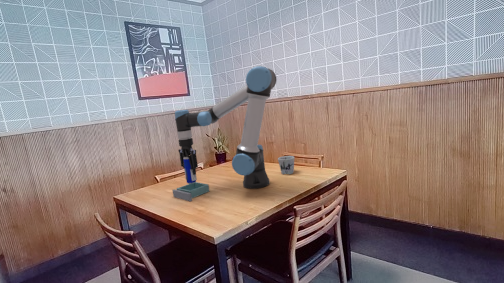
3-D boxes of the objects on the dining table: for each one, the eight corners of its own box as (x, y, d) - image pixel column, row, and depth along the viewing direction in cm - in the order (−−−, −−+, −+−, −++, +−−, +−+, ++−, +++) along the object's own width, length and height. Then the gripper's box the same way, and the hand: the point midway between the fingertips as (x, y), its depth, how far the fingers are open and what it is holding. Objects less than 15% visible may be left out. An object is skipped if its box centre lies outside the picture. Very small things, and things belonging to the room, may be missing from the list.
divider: (192, 200, 143) (191, 193, 143) (190, 201, 142) (189, 194, 142) (175, 196, 154) (174, 189, 153) (173, 196, 153) (172, 189, 153)
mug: (278, 175, 171) (277, 160, 169) (280, 169, 185) (278, 155, 184) (295, 174, 169) (294, 158, 168) (296, 168, 184) (294, 153, 182)
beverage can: (187, 181, 157) (183, 156, 155) (196, 180, 157) (193, 154, 155) (186, 184, 152) (182, 157, 150) (195, 183, 152) (191, 156, 150)
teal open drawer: (209, 191, 156) (208, 184, 155) (190, 198, 147) (189, 191, 146) (195, 188, 164) (195, 181, 164) (177, 195, 155) (176, 188, 155)
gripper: (201, 137, 148) (206, 179, 151) (181, 137, 160) (187, 176, 163) (189, 140, 142) (195, 183, 146) (170, 139, 155) (176, 179, 158)
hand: (191, 179), depth 155 cm, fingers closed on beverage can, 5 cm apart
